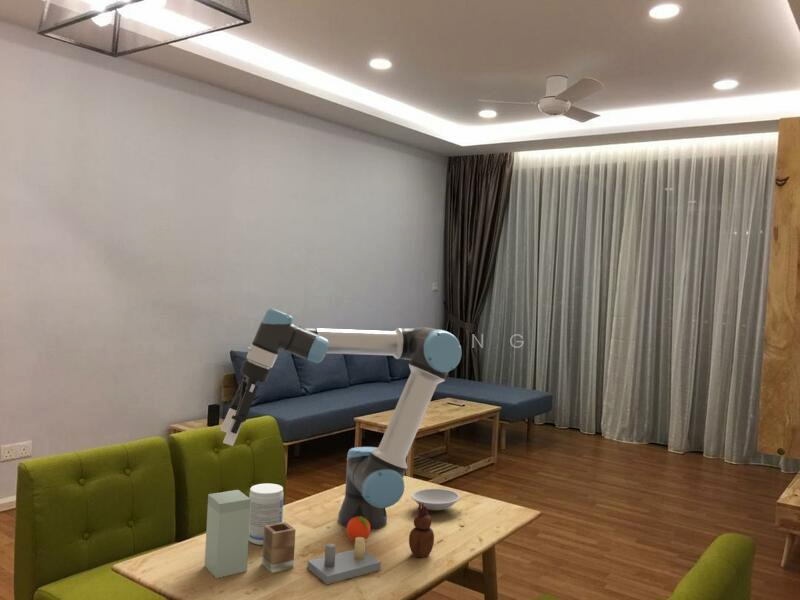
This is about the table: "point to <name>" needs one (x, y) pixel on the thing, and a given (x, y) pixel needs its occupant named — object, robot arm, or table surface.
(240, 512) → the tower
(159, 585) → the table surface
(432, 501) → the dish
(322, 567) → the pin board
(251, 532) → the supplement tub
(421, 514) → the wooden figurine
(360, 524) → the clementine
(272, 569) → the sleeve
